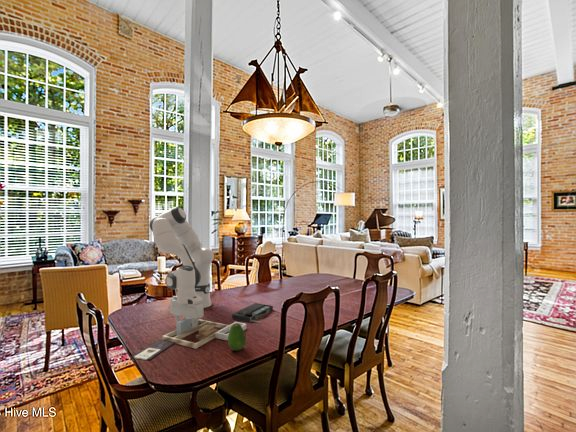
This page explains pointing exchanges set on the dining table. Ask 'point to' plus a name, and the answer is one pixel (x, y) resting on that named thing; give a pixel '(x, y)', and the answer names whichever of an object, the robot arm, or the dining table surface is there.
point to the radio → (252, 312)
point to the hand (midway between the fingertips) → (185, 324)
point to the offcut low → (200, 337)
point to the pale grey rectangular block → (184, 325)
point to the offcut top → (206, 330)
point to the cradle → (221, 333)
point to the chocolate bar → (153, 350)
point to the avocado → (236, 337)
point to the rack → (190, 344)
